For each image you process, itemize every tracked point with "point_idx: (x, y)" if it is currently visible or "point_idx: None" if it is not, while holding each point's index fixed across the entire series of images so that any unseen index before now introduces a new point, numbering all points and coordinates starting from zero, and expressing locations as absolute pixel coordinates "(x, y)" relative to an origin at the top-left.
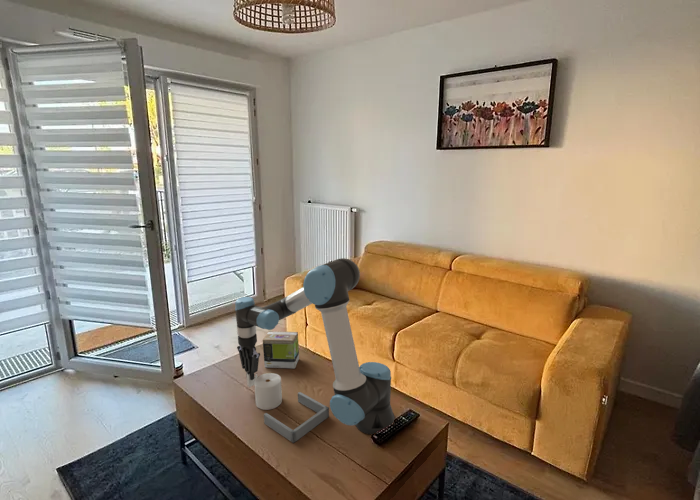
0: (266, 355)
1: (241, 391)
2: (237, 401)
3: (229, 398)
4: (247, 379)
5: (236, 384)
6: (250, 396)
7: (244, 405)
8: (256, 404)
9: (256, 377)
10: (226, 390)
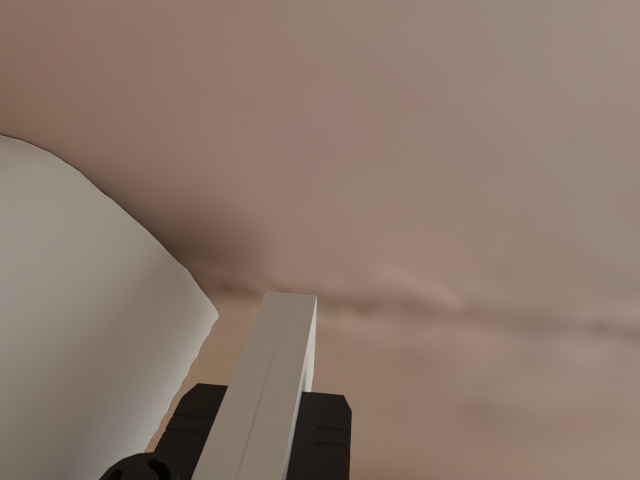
0: None
1: (416, 226)
2: (282, 57)
3: (430, 29)
4: (283, 365)
5: (591, 285)
6: (243, 222)
7: (141, 59)
8: (7, 144)
9: (89, 465)
10: (619, 125)
